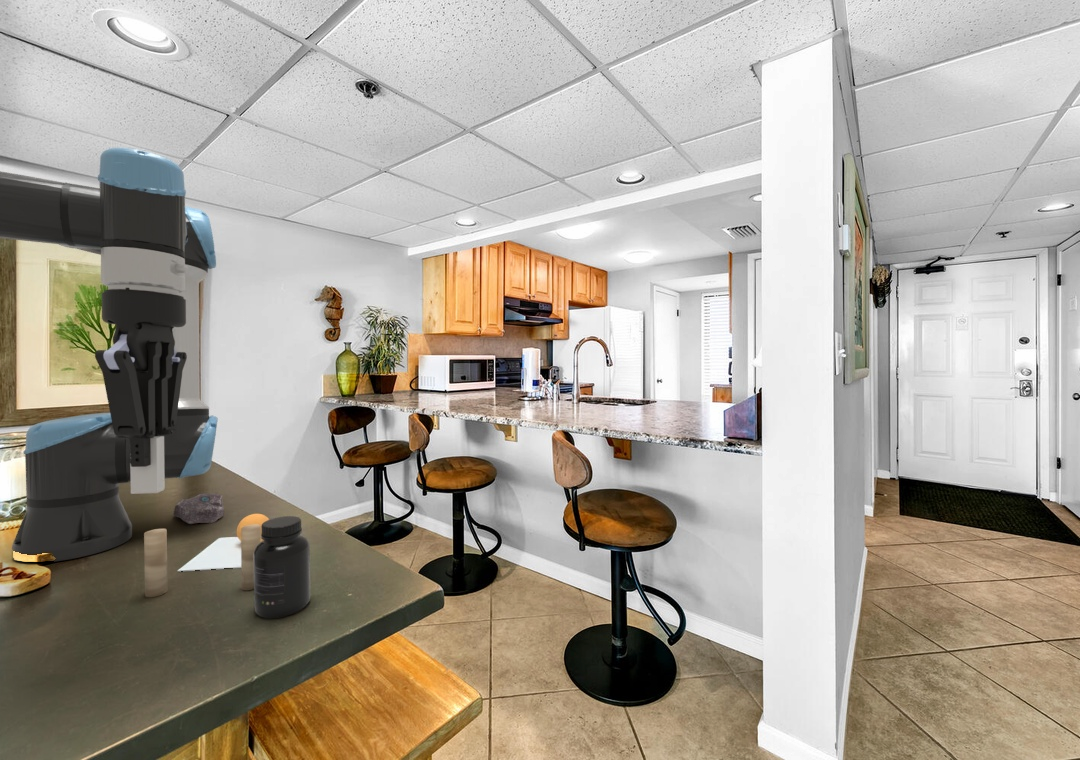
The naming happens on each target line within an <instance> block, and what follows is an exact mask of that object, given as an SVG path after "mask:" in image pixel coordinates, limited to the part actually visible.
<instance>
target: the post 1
mask: <svg viewBox="0 0 1080 760" xmlns="http://www.w3.org/2000/svg"><path fill="white" fill-rule="evenodd" d="M167 535H168V532H167V528H155V529H151V530H147V531H145V532H144V533H143V536H144V537H143V541H144V545H143V546H144V547H143V549H144V550H143V551H144V559H143V560H144V596H145V598H154V597H155V598H156V597H159V596H162V595H164V594H166V593H168V545H167V544H168V543H167V541H168V539H167V538H168V537H167Z"/></svg>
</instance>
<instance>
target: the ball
mask: <svg viewBox="0 0 1080 760" xmlns="http://www.w3.org/2000/svg"><path fill="white" fill-rule="evenodd" d="M267 520H270V519H269V517H267V516H266V515H265V514H261V513H252V514H248V515H247V516H245V517H243V519H241V520H240V522H239V523H238V525H237V527H236V535H237V536H236V537H238V539H239V540H240V541H241V528H242V527H244V526H247V525H254V524H258V525H261V534H262V524H263V523H264V522H265V521H267ZM262 541H263V540H262V539H261V542H262Z"/></svg>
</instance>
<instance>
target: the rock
mask: <svg viewBox="0 0 1080 760" xmlns="http://www.w3.org/2000/svg"><path fill="white" fill-rule="evenodd" d="M224 514H225V508H224V504H223V495H222V494H219V493H206V492H205V493H204V492H203V493H201V492H200V493H198V495H196V496H192V497H191V498H188V499H186V498H182V499H181V501H178V502H177V504H176V505H175V506H174V510H173V514H172V515H173V516H174V517H177V518H179V519H180V520H182V521H183V522H185V523H186V524H188V525H194V524H198V523H200V524H213V523H215V522H216V521H218V519H219V520H220V519H221V518H223V515H224Z"/></svg>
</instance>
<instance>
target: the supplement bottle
mask: <svg viewBox="0 0 1080 760" xmlns="http://www.w3.org/2000/svg"><path fill="white" fill-rule="evenodd" d="M302 533H303V527H302V519H301V518H300V517H299V516H294V515H287V516H284V515H283V516H278V517H277V516H276V517H273V518H270V519H269V520H267V521H265V522H264V523H263V524H262V534H261V539H262V540H263V541H262V542H260V543H259V544H258V545H257V546H256V548H255V550H254V553H253V563H254V589H253V595H254V597H253V598H254V600H253V601H254V612H255V614H256V615H258V616H259V617H261V618H264V619H280V618H283V617H288V616H291V615H294V614H296V613H298V612H300V611H301V610H303V609H304V608H305V607H306V606H307V605H308V604H309V602H310V600H311V553H310V552H311V551H310V550H311V549H310V548H311V547H310V541H309V539H308V538H307V537H306V536H304V535H303V534H302Z"/></svg>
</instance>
